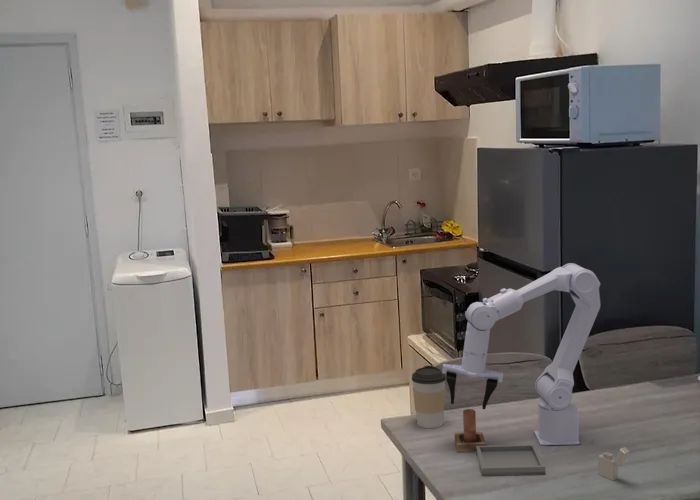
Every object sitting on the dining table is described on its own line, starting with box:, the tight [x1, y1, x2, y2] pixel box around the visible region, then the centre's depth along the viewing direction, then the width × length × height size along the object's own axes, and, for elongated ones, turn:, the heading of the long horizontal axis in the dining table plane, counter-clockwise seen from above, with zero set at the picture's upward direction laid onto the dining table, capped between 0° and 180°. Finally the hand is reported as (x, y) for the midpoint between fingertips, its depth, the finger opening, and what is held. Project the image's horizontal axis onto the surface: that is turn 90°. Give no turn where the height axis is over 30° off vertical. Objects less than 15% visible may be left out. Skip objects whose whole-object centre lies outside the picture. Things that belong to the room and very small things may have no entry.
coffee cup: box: [411, 365, 447, 429], centre depth 195 cm, size 9×9×15 cm
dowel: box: [462, 408, 477, 443], centre depth 180 cm, size 3×3×9 cm
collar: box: [453, 431, 487, 453], centre depth 181 cm, size 7×7×2 cm
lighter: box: [597, 446, 631, 481], centre depth 160 cm, size 7×2×8 cm, turn 32°
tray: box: [475, 444, 546, 477], centre depth 170 cm, size 14×12×2 cm
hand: (468, 405), depth 179 cm, fingers open, 7 cm apart
